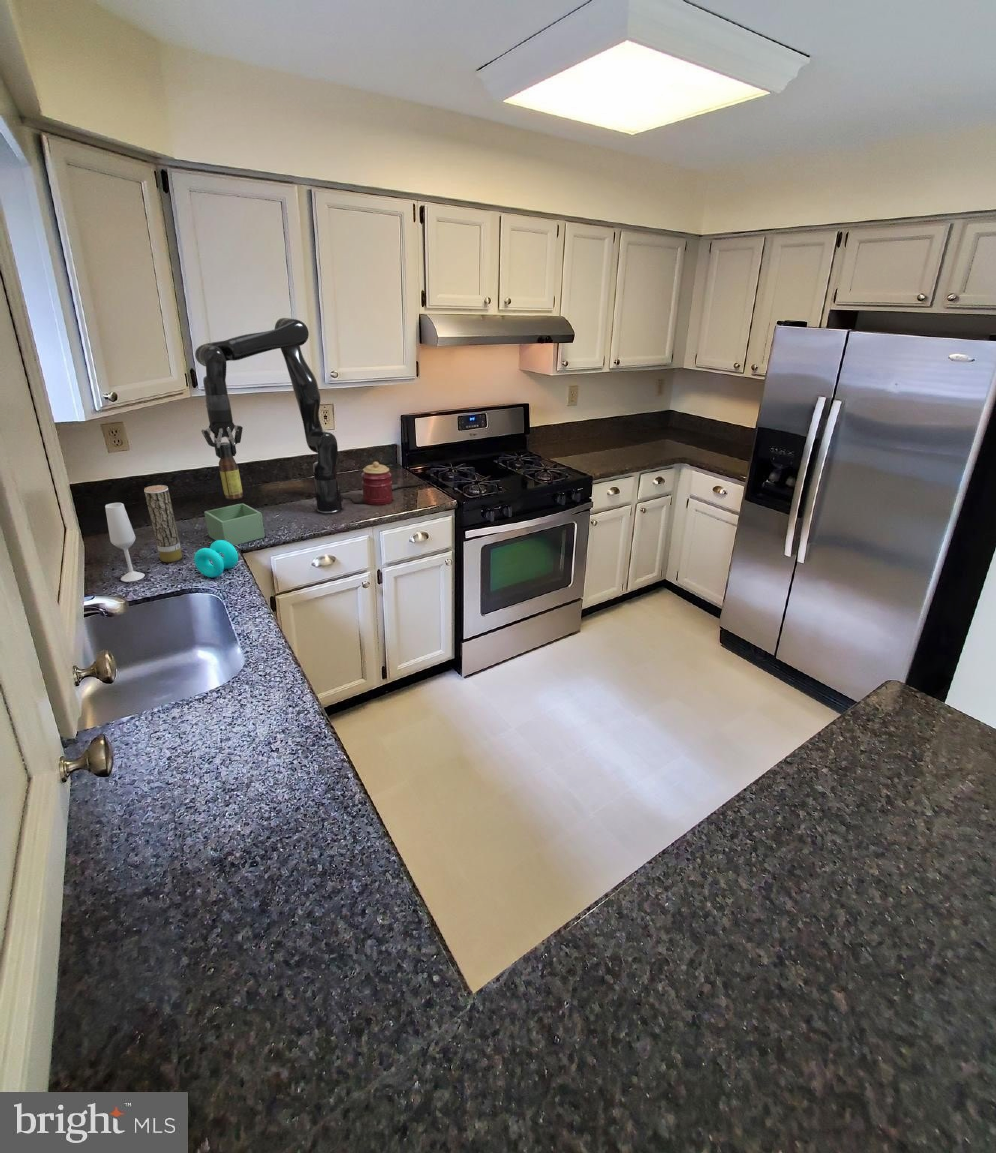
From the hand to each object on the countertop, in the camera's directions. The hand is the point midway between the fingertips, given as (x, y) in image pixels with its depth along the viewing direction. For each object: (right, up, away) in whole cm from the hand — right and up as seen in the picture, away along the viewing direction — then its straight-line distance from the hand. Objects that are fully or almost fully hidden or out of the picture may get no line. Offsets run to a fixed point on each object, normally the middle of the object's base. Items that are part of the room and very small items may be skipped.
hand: (226, 456), depth 211 cm
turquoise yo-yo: (+5, -42, -17) cm, 45 cm away
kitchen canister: (+43, -9, +53) cm, 69 cm away
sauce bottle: (0, -14, +7) cm, 15 cm away
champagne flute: (-20, -43, -22) cm, 52 cm away
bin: (-1, -28, +11) cm, 30 cm away
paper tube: (-15, -37, -9) cm, 41 cm away
